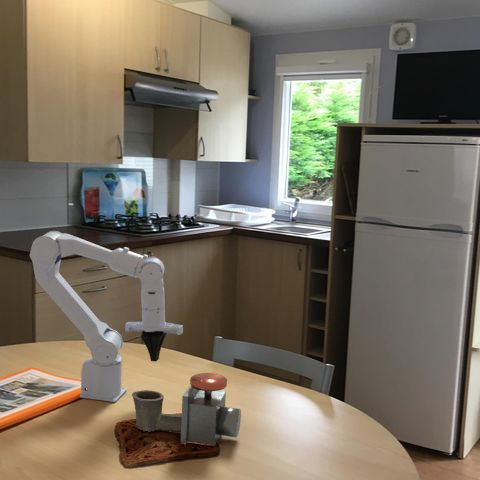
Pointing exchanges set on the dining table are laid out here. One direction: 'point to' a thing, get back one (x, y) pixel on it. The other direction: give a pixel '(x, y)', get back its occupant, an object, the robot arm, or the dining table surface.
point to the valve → (207, 410)
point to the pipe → (154, 413)
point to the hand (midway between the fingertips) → (154, 360)
